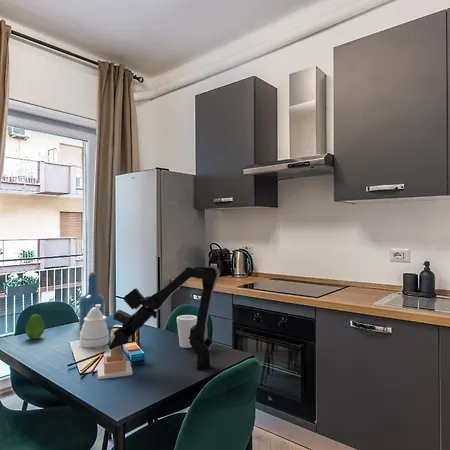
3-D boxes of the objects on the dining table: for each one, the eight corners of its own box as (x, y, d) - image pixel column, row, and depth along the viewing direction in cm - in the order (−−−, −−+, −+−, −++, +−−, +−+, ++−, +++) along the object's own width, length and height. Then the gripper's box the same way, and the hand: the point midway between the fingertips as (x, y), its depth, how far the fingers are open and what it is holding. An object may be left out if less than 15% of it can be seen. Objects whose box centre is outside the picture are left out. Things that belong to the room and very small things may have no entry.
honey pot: (114, 340, 174) (114, 303, 174) (96, 348, 162) (96, 308, 162) (92, 337, 179) (92, 301, 179) (73, 345, 166) (73, 306, 167)
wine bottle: (102, 330, 191) (102, 273, 192) (76, 331, 190) (76, 273, 190) (107, 323, 205) (107, 270, 205) (82, 324, 203) (83, 270, 203)
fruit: (35, 341, 171) (35, 316, 171) (22, 340, 174) (22, 315, 174) (48, 337, 179) (48, 312, 179) (35, 335, 181) (35, 311, 181)
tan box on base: (132, 374, 133) (132, 362, 134) (97, 379, 129) (98, 366, 129) (129, 363, 145) (129, 352, 145) (97, 367, 141) (97, 355, 141)
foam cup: (198, 342, 171) (198, 315, 171) (195, 349, 162) (195, 320, 162) (178, 342, 172) (179, 314, 172) (174, 348, 163) (174, 319, 163)
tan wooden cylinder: (121, 363, 145) (121, 330, 145) (110, 364, 143) (111, 331, 143) (120, 360, 148) (120, 328, 149) (110, 361, 147) (110, 329, 147)
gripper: (131, 299, 155) (106, 324, 155) (119, 308, 137) (89, 337, 137) (150, 317, 155) (124, 343, 155) (140, 329, 137) (110, 358, 137)
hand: (112, 345), depth 146 cm, fingers open, 7 cm apart
